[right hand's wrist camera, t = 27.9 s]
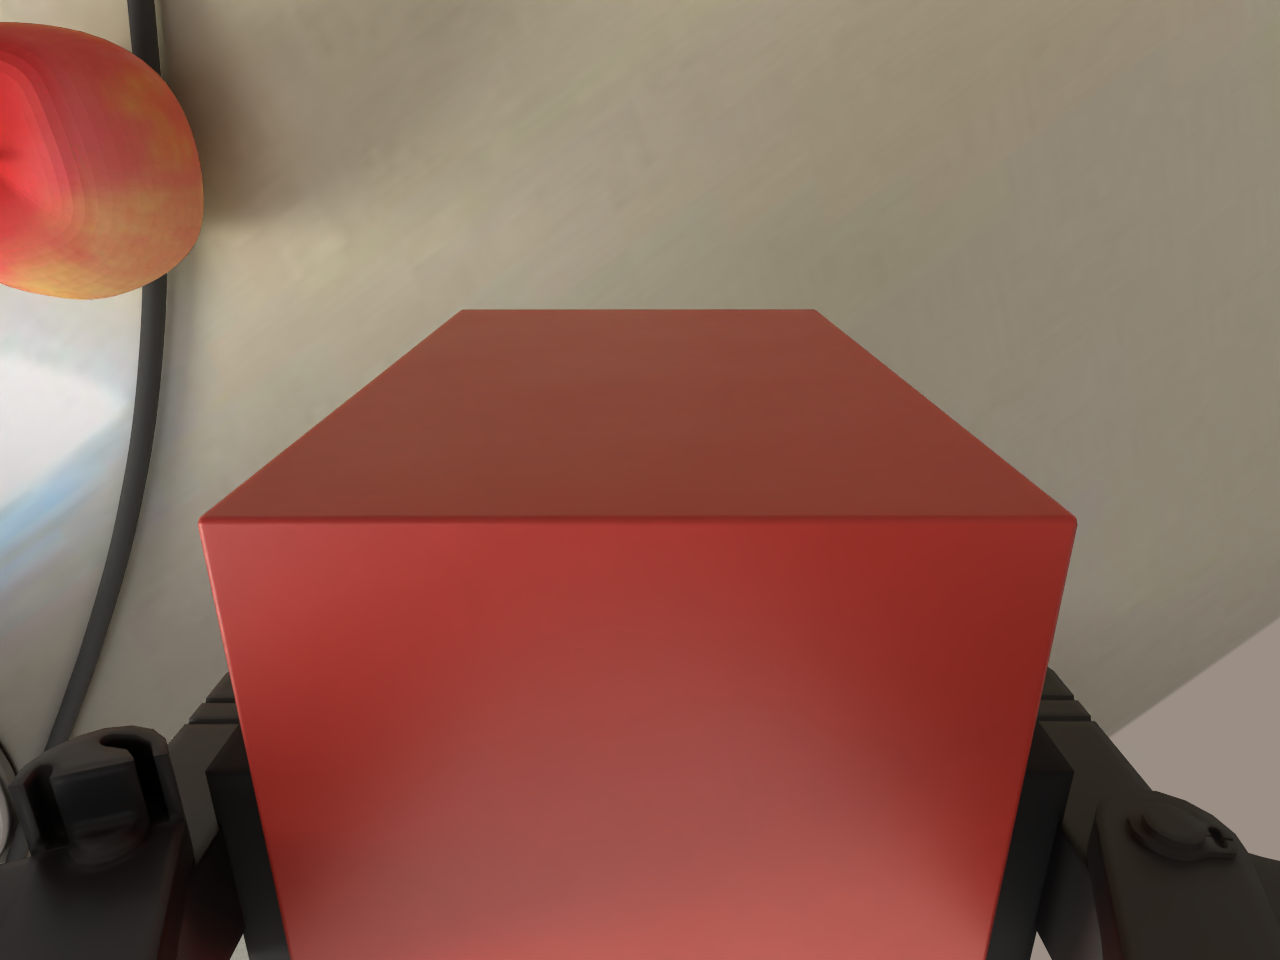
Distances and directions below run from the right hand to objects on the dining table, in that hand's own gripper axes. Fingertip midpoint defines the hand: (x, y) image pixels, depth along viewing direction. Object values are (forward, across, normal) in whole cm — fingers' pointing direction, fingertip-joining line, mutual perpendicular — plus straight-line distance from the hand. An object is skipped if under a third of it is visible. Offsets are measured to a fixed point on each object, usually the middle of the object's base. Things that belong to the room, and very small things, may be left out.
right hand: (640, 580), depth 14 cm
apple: (+25, +22, -7) cm, 34 cm away
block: (+3, 0, 0) cm, 3 cm away
